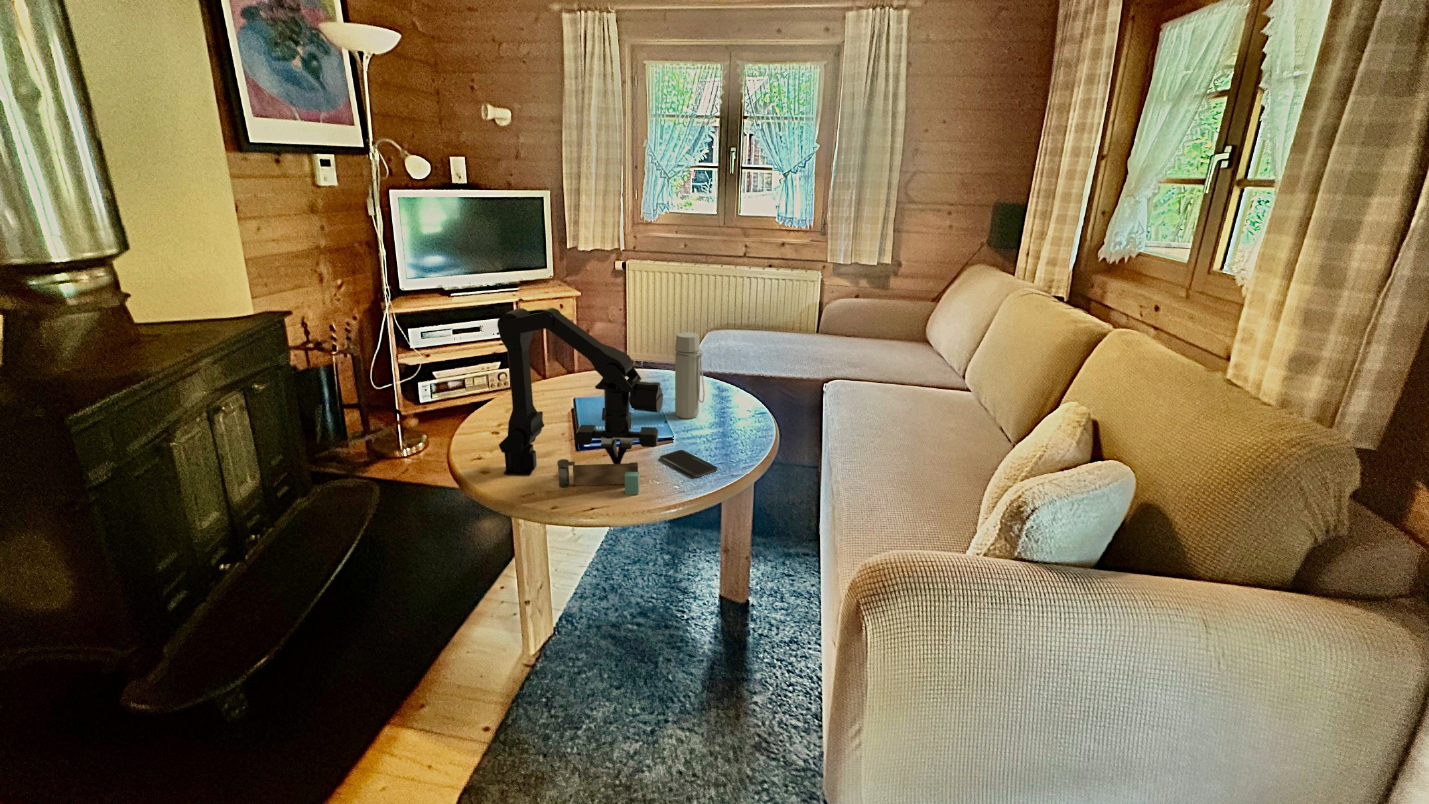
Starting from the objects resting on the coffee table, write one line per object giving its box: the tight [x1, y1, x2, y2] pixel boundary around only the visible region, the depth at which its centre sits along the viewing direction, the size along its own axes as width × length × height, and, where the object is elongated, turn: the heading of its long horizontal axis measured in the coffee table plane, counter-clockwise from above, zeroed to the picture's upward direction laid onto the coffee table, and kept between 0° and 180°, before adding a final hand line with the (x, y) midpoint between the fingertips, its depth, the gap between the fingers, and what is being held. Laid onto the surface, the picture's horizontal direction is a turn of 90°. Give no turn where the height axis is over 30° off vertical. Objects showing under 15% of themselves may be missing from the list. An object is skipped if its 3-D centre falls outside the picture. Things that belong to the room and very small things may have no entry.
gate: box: [557, 458, 639, 486], centre depth 159 cm, size 18×3×6 cm, turn 96°
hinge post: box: [557, 466, 571, 489], centre depth 158 cm, size 2×2×5 cm
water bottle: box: [674, 331, 706, 420], centre depth 200 cm, size 9×8×25 cm
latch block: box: [624, 471, 640, 495], centre depth 156 cm, size 3×2×5 cm
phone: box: [659, 449, 718, 479], centre depth 171 cm, size 8×1×15 cm
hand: (617, 468), depth 161 cm, fingers closed
